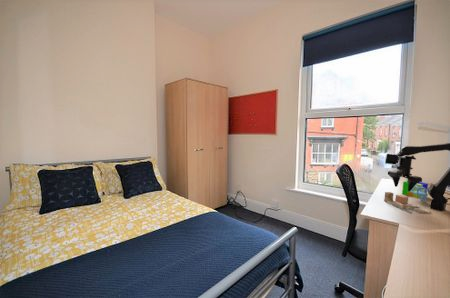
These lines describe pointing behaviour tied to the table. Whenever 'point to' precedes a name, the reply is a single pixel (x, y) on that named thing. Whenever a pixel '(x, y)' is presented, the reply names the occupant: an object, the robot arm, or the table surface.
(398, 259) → the table surface
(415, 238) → the table surface
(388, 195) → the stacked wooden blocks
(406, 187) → the puzzle toy
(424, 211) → the pair of tan slabs
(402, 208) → the lane bed
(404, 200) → the cube
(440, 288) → the table surface
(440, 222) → the table surface
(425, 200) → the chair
